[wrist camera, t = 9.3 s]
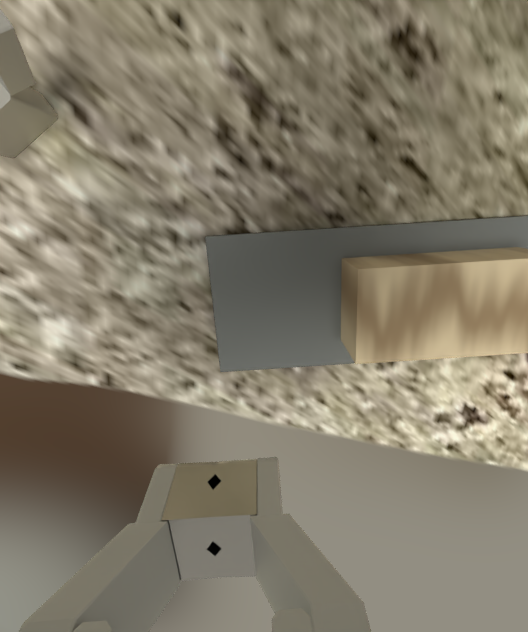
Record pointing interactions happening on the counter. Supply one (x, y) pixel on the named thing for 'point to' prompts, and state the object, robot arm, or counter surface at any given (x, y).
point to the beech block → (435, 305)
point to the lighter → (19, 97)
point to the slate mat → (316, 283)
